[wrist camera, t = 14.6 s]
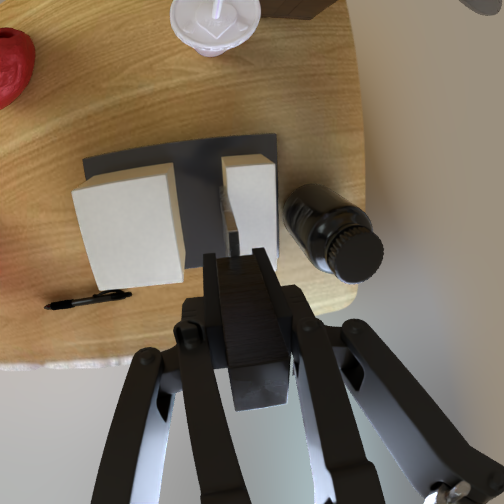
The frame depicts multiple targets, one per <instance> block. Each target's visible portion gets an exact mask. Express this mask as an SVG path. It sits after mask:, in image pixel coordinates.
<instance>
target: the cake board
mask: <svg viewBox="0 0 504 504" xmlns="http://www.w3.org/2000/svg"><path fill="white" fill-rule="evenodd" d="M251 154H262V155H263V156H265V157H266V158H268V159H269V160H270V161H272V162H273V163H275V170H276V218H277V258H279V214H278V168H277V136H276V133H260V134H243V135H230V136H218V137H208V138H198V139H190V140H181V141H174V142H167V143H160V144H153V145H147V146H141V147H135V148H130V149H124V150H119V151H114V152H109V153H104V154H100V155H95V156H91V157H86V158H84V159H82V160H83V166H84V172H85V177H86V181H87V180H88V179H90V178H91V177H93V176H96V175H101V174H106V173H111V172H116V171H122V170H127V169H133V168H139V167H145V166H152V165H158V164H165V163H173V167H174V175H175V183H176V191H177V199H178V206H179V213H180V220H181V227H182V233H183V240H184V246H185V252H186V254H185V265H184V269H188V268H197V267H203V254H207V253H216V258H224V257H226V255H225V248H224V238H223V227H222V217H221V205H220V194H219V186H224V185H223V172H222V158H221V157H226V156H238V155H251Z"/></svg>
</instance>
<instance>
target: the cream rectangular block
mask: <svg viewBox="0 0 504 504" xmlns="http://www.w3.org/2000/svg"><path fill="white" fill-rule="evenodd" d="M221 158H222V172H223V185H224V186H226V188H227V192H228V195H229V199H230V202H231V206H232V210H233V213H234V217H235V220H236V224H237V227H238V231H239V243H240V256H242V255H251V254H252V248H260V247H264V248H265V250H266V253H267V255H268V257H269V260H270V262H271V264H272V267H273V269H274V271H277V218H276V170H275V163H273V162H272V161H270V160H269V159H268V158H266V157H265V156H263V155H262V154H251V155H238V156H226V157H221Z"/></svg>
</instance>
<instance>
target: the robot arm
mask: <svg viewBox="0 0 504 504" xmlns="http://www.w3.org/2000/svg"><path fill="white" fill-rule="evenodd" d="M252 254H254V255H255V257H256V260H257V263H258V266H259V269H260V272H261V274H262V277H263V280H264V283H265V286H266V289H267V292H268V295H269V298H270V301H271V303H272V306H273V309H274V312H275V315H276V318H277V321H278V324H279V327H280V330H281V332H282V335H283V338H284V341H285V344H286V347H287V350H288V353H289V356H290V358H291V352H292V355H293V358H294V360H293V374H292V375H295V378H296V384H297V389H298V395H299V400H300V406H301V411H302V417H303V423H304V427H305V434H306V439H307V445H308V451H309V457H310V463H311V469H312V475H313V481H314V487H315V504H385V500H384V496H383V492H382V489H381V485H380V481H379V478H378V474H377V471H376V469H375V466H374V464H373V463H372V462H370V461H368V460H367V458H366V456H365V452H364V448H363V445H362V441H361V438H360V434H359V431H358V428H357V424H356V421H355V418H354V415H353V411H352V408H351V404H350V401H349V398H348V395H347V392H346V388H345V385H346V386H347V388H348V389H349V391H350V393H351V394H352V396H353V397H354V398H355V400H356V402H357V403H358V405H359V406H360V408H361V409H362V410H363V412H364V414H365V415H366V417H367V418H368V420H369V421H370V423H371V424H372V426H373V427H374V429H375V430H376V432H377V433H378V435H379V437H380V438H381V440H382V441H383V442H384V444H385V446H386V447H387V448H388V450H389V452H390V453H391V455H392V456H393V458H394V459H395V461H396V462H397V464H398V465H399V467H400V468H401V470H402V472H403V473H404V475H405V476H406V478H407V479H408V480H409V482H410V483H411V485H412V486H413V487H414V488H415V490H416V491H417V492H418V493H419V494H420V495H421V496H422V497H424V498H425V499H426V500H425V503H424V504H486V503H487V502H488V501H489V500H491V499H493V498H495V497H496V496H498V495H499V494H501V493H502V492H504V466H503V465H501V464H499V463H497V462H496V461H494V460H493V459H491V458H489V457H488V456H486V455H484V454H482V453H481V452H479V451H478V450H476V449H474V448H473V447H471V446H470V445H469V444H468V443H467V441H466V440H465V439H464V438H463V436H462V435H461V434H460V433H459V431H458V430H457V429H456V428H455V426H454V425H453V424H452V422H450V420H449V419H448V418H447V416H446V415H445V414H444V413H443V412H442V410H441V409H440V408H439V406H438V405H437V404H436V403H435V402H434V400H433V399H432V398H431V397H430V396H429V394H428V393H427V392H426V391H425V390H424V388H423V387H422V386H421V385H420V384H419V382H418V381H417V380H416V379H415V378H414V376H413V375H412V374H411V373H410V372H409V371H408V370H407V368H406V367H405V366H404V365H403V364H402V362H401V361H400V360H399V359H398V358H397V357H396V355H395V354H394V353H393V352H392V351H391V350H390V349H389V347H388V346H387V345H386V344H385V343H384V342H383V341H382V340H381V338H379V336H378V335H377V334H376V333H375V332H374V330H373V329H372V328H371V327H370V326H369V325H368V324H367V323H366V322H365V321H363V320H360V319H349V320H347V321H345V322H344V323H343V325H342V327H332V326H327V325H324V323H323V322H322V321H321V320H319V319H318V318H315V316H314V314H313V312H312V310H311V308H310V306H309V304H308V302H307V300H306V298H305V296H304V294H303V292H302V290H301V289H300V288H299V287H297V286H296V285H295V284H294V285H287V286H280V283H279V281H278V279H277V276H276V274H275V271H274V269H273V267H272V264H271V262H270V260H269V257H268V255H267V253H266V250H265V248H264V247H260V248H252ZM203 288H204V297H194V298H186V300H185V301H184V303H183V304H182V318H181V321H180V322H178V323H177V324H176V325H175V326H174V329H173V332H174V336H175V339H176V343H177V344H176V345H175V346H174V347H172V348H171V349H168V350H165V351H162V352H160V351H159V350H158V349H156V348H152V347H147V348H143V349H140V350H139V351H138V352H136V353H135V355H134V357H133V359H132V362H131V365H130V368H129V371H128V373H127V376H126V379H125V382H124V385H123V388H122V391H121V394H120V397H119V400H118V404H117V407H116V410H115V413H114V416H113V420H112V423H111V426H110V430H109V433H108V437H107V440H106V444H105V447H104V451H103V455H102V458H101V462H100V466H99V470H98V474H97V478H96V483H95V486H94V491H93V495H92V500H91V504H158V503H159V496H160V488H161V481H162V474H163V466H164V460H165V453H166V447H167V440H168V434H169V428H170V422H171V417H172V411H173V405H174V399H175V393H177V392H180V391H183V397H184V404H185V410H186V416H187V423H188V429H189V435H190V440H191V446H192V451H193V456H194V461H195V466H196V471H197V476H198V481H199V485H200V490H201V496H200V499H201V504H252V503H251V500H250V497H249V494H248V491H247V488H246V486H245V482H244V479H243V476H242V473H241V470H240V466H239V463H238V460H237V456H236V453H235V449H234V446H233V442H232V439H231V435H230V432H229V428H228V425H227V421H226V417H225V413H224V409H223V406H222V402H221V398H220V394H219V390H218V386H217V382H216V378H215V374H214V369H220V368H228V366H227V358H226V350H225V342H224V333H223V324H222V316H221V306H220V297H219V287H218V277H217V267H216V253H207V254H203ZM344 383H345V385H344Z"/></svg>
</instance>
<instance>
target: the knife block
mask: <svg viewBox="0 0 504 504" xmlns="http://www.w3.org/2000/svg"><path fill="white" fill-rule="evenodd" d="M336 1H338V0H259V2H260V6H261V16H260V17H274V18H291V19H303V20H311V19H312V18H313V17H315V16H316V15H318V14H319V13H320V12H322V11H323V10H325V9H326V8H327V7H329V6H330V5H332V4H333V3H335V2H336Z"/></svg>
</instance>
